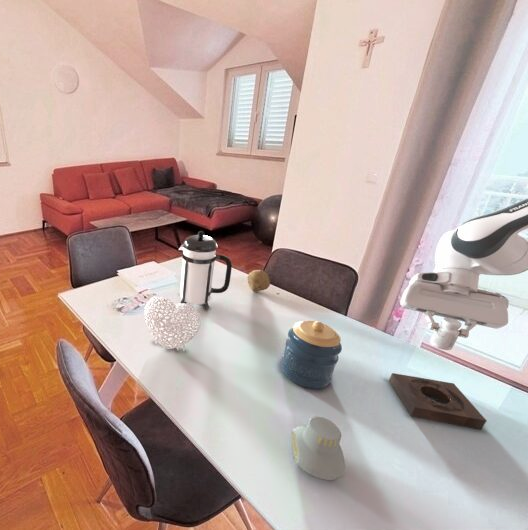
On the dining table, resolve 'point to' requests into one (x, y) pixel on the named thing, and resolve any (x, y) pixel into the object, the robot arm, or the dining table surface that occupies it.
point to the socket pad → (448, 411)
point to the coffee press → (200, 269)
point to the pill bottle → (446, 334)
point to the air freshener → (318, 448)
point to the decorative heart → (171, 322)
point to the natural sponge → (258, 280)
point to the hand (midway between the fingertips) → (447, 333)
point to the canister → (311, 354)
